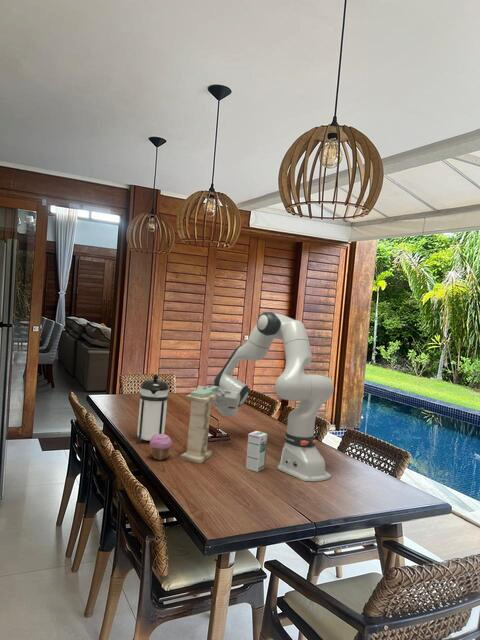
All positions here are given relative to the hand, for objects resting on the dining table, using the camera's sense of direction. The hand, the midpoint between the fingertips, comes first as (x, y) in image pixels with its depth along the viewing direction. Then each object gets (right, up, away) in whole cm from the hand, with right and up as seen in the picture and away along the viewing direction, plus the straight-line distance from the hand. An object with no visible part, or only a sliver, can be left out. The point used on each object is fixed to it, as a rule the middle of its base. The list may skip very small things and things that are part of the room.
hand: (213, 388), depth 213 cm
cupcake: (-21, -26, -17) cm, 37 cm away
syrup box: (+18, -30, -18) cm, 39 cm away
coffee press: (-29, -25, +7) cm, 39 cm away
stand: (-7, -27, -11) cm, 30 cm away
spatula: (-2, -1, -6) cm, 7 cm away
